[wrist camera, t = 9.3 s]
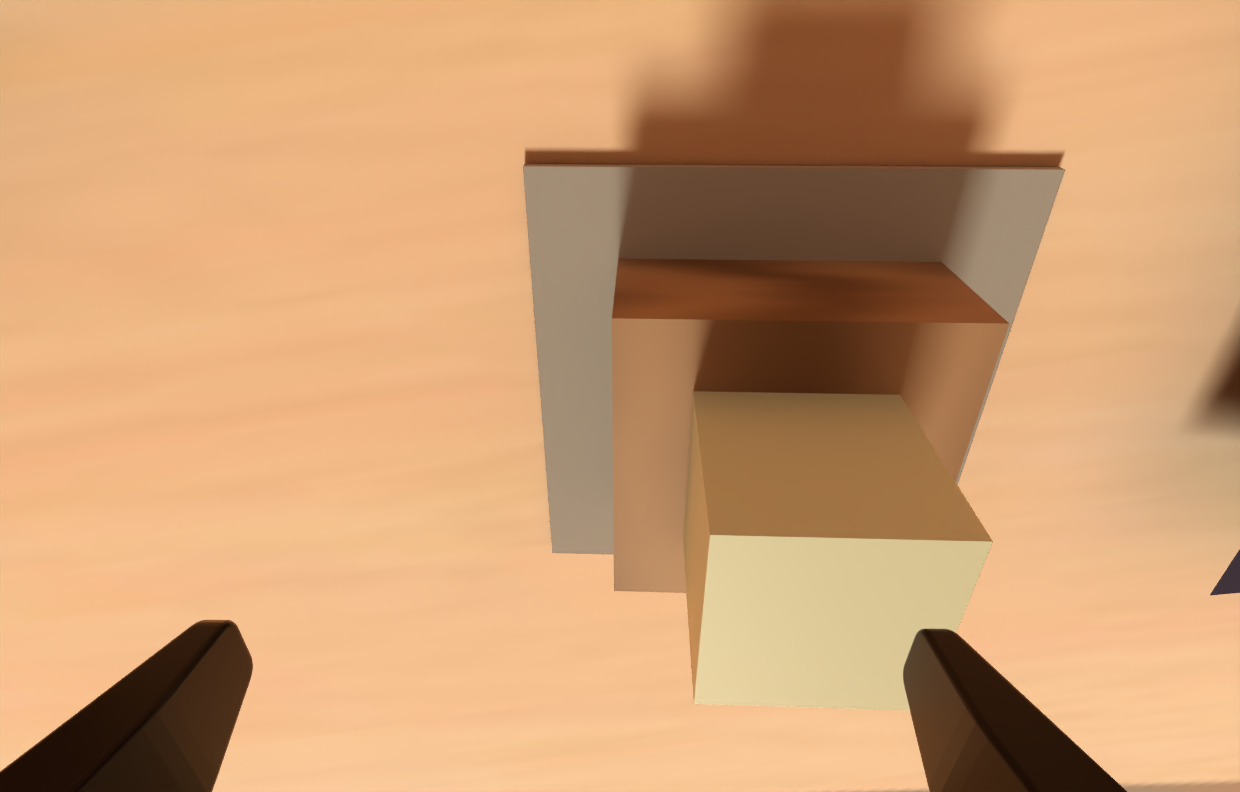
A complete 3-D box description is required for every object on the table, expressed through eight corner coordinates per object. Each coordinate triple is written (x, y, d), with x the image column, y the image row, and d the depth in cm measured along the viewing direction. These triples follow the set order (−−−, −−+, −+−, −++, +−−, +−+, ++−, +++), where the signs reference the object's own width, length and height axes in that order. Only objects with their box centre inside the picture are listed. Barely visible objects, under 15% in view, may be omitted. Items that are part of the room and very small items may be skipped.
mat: (553, 547, 25) (552, 553, 25) (524, 163, 18) (522, 166, 17) (928, 556, 24) (930, 562, 24) (1059, 167, 17) (1065, 169, 17)
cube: (682, 541, 19) (694, 703, 14) (693, 391, 16) (710, 535, 12) (860, 545, 19) (924, 711, 14) (900, 394, 16) (992, 541, 12)
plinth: (618, 503, 23) (614, 591, 20) (618, 258, 18) (611, 318, 15) (876, 508, 23) (916, 598, 20) (941, 261, 18) (1009, 323, 15)
